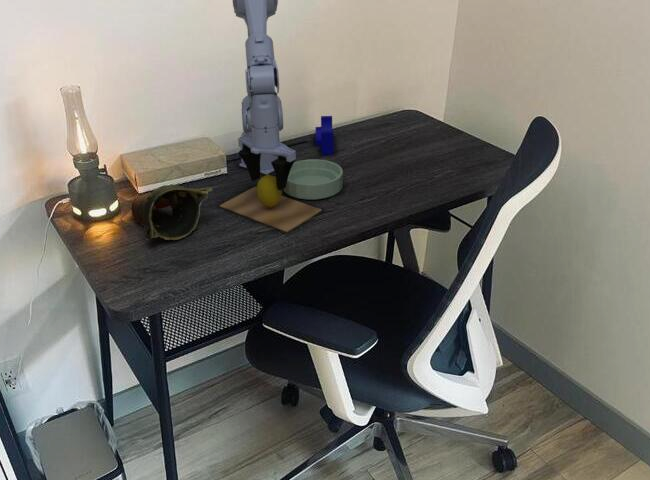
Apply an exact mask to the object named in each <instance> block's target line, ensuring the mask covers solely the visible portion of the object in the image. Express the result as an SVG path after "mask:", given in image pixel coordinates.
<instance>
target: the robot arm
mask: <svg viewBox="0 0 650 480" xmlns="http://www.w3.org/2000/svg"><path fill="white" fill-rule="evenodd" d="M278 5H279V0H232V8H233V12H234V14H235V17H237V18H240V19H242V20H243V21H244V23H245V26H246V29H247V38H246V40H245V43H244V47H245V59H246V69H245V70H244V72H245V74H244V75H245V87H246V93H247V94H246V96H244V97H243V98H242V101H241V122H242V131H243V132H242V133H241V135H240V136H239V137H238V138H237V141H238V147H239V151H238V156H239V157H240V160H241V161H240V163H239V167H241V168H244V169H247V172H248V173H249V177H250V180H251V181H252V182H255V181H257V180H260V179H261V174H263V175H264V176H266V175H267V174H269V175H271V174H272V173H274V175H275V177H276V184H277V189H278V190H282V191H283V189H284V188H286V184H287V180H288V176H289V173H290V170H291V168H292V166H293V164H294V162H296V161H297V154H296V151H297V150H295V149H292V148H290V147H289V146H287V145H286V144H284V143H282V142H281V140H280V132H281V131H283V129H284V113H283V112H284V111H283V106H282V105H283V104H282V99H281V98H280V96H278V94H279V93H280V75H279V68H278V66H277V65H278V64H277V60H276V59H275V50H274V49H275V48H274V41H273V39H272V37H271V36H270V35H268V34H267V29H268V27H267V25H268V24H267V23H268V20H269V18H271V17H273V16H275V15H276V12H277V10H278Z"/></svg>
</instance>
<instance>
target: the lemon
mask: <svg viewBox="0 0 650 480" xmlns="http://www.w3.org/2000/svg"><path fill="white" fill-rule="evenodd" d="M256 187H257V197H258V200H259V201H260V203H261V204H263V205H265V206H268V207H269V208H271V207H272V206H274V205H276V204H277V203H278V202H279V201H280V199H281V196H283V195H282V193H283V189H282V190H278V189H277V184H276V176H274V175H271V174H267V175H264V176H261V177H260V178H259V179H258V182H257V185H256Z"/></svg>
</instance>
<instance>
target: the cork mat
mask: <svg viewBox="0 0 650 480" xmlns="http://www.w3.org/2000/svg"><path fill="white" fill-rule="evenodd" d="M218 207H219V208H222V209H225V210H227V211H230V212H232V213H235V214H237V215H240V216H242V217H245V218H248V219H251V220H253V221H256V222H259V223H261V224H263V225H266V226H268V227H272V228H274V229H277V230H279V231H281V232H285V233H289V232H290V231H293V230H294V229H295V228H297V227H298V226H300V225H302V224H304V223H305V222H307V221H308V220H310V219H311V218H313V217H314V216H316V215H318V214H320V213H322V211H323V209H322V208H319V207H316V206H313V205H310V204H308V203H305V202H301V201H298V200H295V199H293V198H290V197H286V196H284V195H281V199H280V201H279V202H278V203H277V204H276V205H274V206H272V207H271V208H269V207H268V206H265V205H263V204H261V203H260V201H259V200H258V197H257V186H253V187H251V188H249V189H248V190H245V191H244V192H242V193H240V194H237V195H236V196H234V197H233V198H230V199H229V200H227V201H225V202H223V203H221V204H219V206H218Z"/></svg>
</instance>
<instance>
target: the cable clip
mask: <svg viewBox="0 0 650 480" xmlns="http://www.w3.org/2000/svg"><path fill="white" fill-rule="evenodd" d="M315 146H316V147H321V155H322V156H328V155H329V156H334V130H333V115H321V116H320V126H315Z"/></svg>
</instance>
